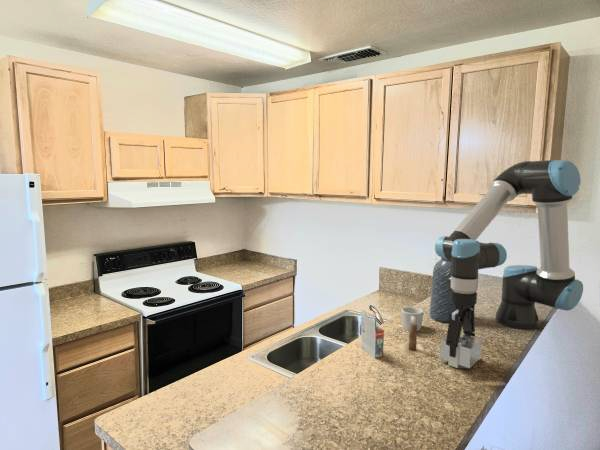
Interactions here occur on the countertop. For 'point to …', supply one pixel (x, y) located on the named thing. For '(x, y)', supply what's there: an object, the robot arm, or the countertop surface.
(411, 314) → the cup
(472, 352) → the square through-hole block
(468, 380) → the countertop surface
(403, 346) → the stand
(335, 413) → the countertop surface
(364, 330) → the ink box
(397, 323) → the countertop surface
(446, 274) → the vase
